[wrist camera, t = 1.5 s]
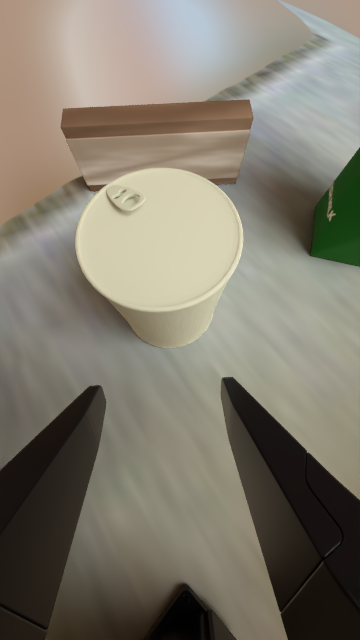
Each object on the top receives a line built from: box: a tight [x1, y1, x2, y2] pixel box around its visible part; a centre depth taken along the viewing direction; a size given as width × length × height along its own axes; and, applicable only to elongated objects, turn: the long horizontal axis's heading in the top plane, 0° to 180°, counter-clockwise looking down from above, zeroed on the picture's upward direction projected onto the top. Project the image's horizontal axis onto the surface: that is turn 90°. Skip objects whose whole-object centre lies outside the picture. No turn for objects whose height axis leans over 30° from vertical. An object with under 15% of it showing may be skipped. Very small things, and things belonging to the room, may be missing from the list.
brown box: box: [61, 100, 253, 191], centre depth 24 cm, size 3×18×7 cm, turn 94°
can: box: [75, 168, 243, 348], centre depth 17 cm, size 9×9×12 cm
